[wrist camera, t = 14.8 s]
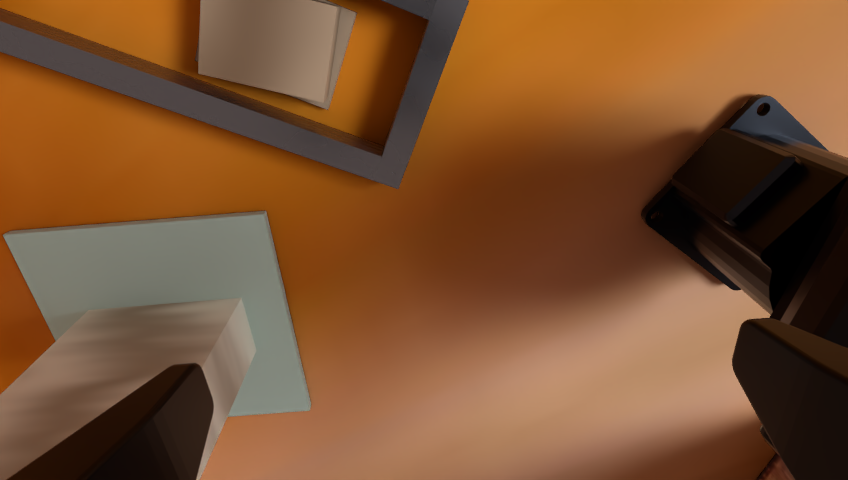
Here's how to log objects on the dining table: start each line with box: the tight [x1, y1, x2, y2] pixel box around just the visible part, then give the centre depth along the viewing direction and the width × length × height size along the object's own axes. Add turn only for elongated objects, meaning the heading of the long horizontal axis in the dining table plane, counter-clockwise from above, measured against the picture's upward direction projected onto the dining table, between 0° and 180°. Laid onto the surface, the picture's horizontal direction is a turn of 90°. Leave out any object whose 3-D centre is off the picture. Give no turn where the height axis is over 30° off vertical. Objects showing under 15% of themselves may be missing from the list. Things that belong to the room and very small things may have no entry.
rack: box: [0, 0, 469, 189], centre depth 17 cm, size 18×7×2 cm, turn 69°
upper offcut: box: [198, 0, 341, 103], centre depth 17 cm, size 4×3×1 cm
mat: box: [3, 211, 311, 417], centre depth 23 cm, size 11×11×1 cm
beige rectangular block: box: [0, 298, 256, 480], centre depth 18 cm, size 7×3×10 cm, turn 94°
